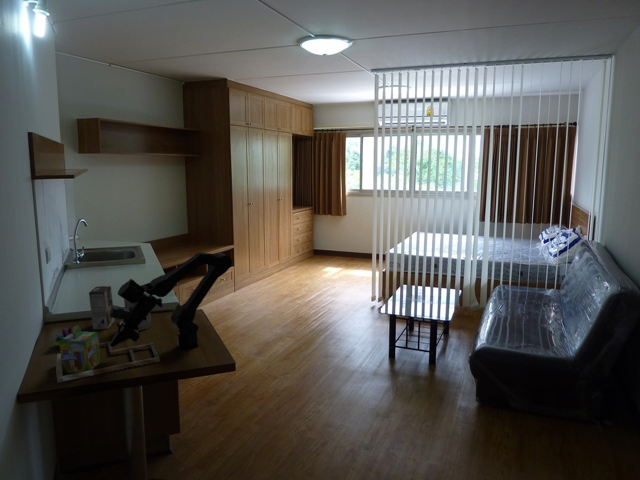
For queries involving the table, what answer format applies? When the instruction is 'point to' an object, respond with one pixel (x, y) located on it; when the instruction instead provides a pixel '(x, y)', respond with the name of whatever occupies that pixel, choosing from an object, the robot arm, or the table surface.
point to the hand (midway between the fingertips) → (111, 345)
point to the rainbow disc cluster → (65, 333)
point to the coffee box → (101, 307)
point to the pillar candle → (145, 323)
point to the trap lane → (112, 368)
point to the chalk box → (79, 351)
